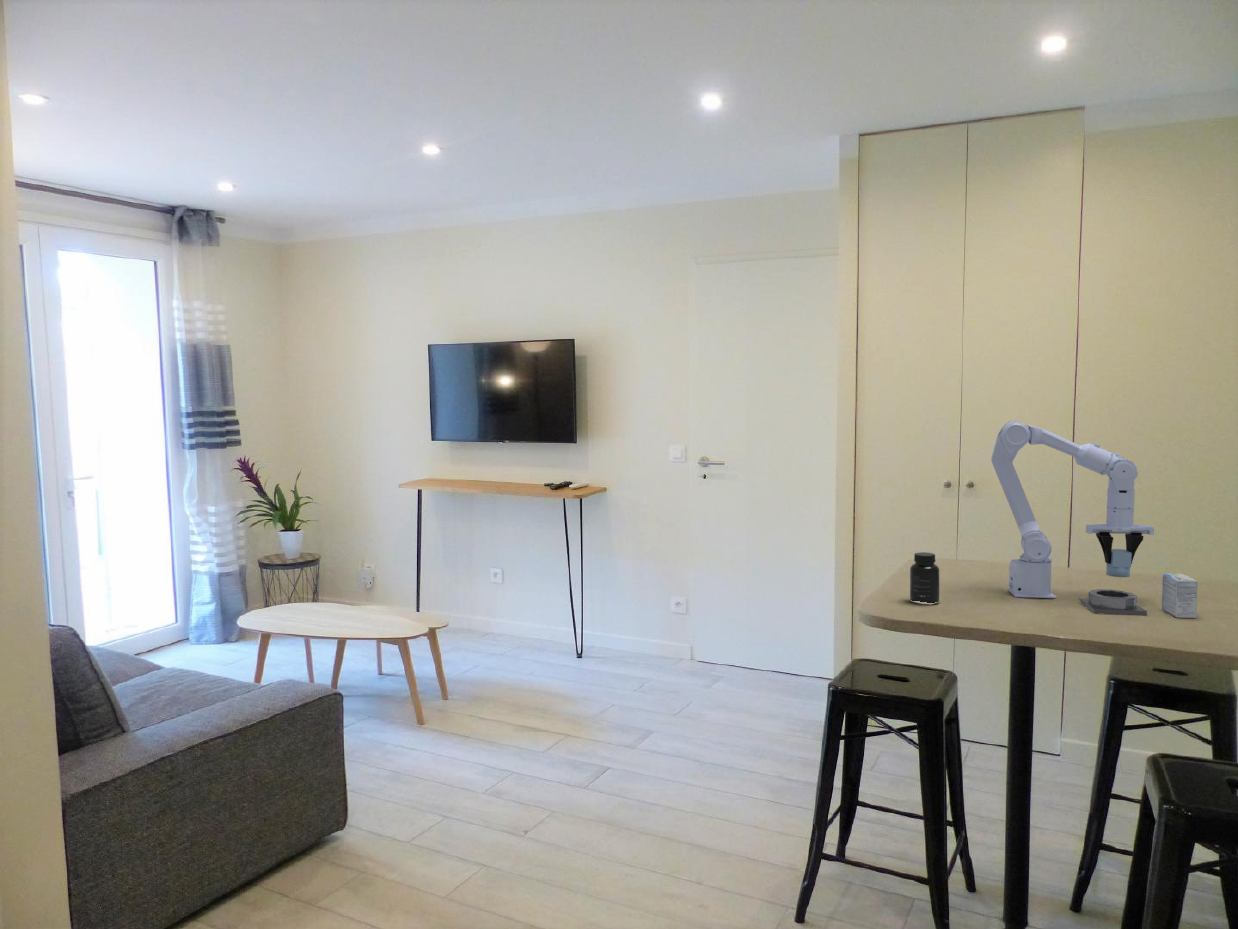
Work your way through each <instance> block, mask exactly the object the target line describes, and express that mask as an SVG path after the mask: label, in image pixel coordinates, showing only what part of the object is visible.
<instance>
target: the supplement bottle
mask: <svg viewBox="0 0 1238 929" xmlns="http://www.w3.org/2000/svg"><path fill="white" fill-rule="evenodd" d="M913 558H914V559H913V562H914V563H913V564H911V566H910V569H909V599H910V601H911V600H912V601H920V602H927V603H935V602H938V603H940V567H939V565H936V564H935V563H936V554H935V553H932V552H926V551H925V552H915V553H914V556H913Z"/></svg>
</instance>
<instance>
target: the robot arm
mask: <svg viewBox="0 0 1238 929" xmlns="http://www.w3.org/2000/svg"><path fill="white" fill-rule="evenodd" d="M1027 444H1029V445H1044V446H1047V447H1049V448H1052V449H1054V450H1056V451H1059V452H1061V453H1064V454H1066V455H1069V456H1072V457H1073V458H1074V460H1075V462H1076V464H1077V465H1078V466H1080V467H1082V468H1085V469H1088V470H1090V471H1092V472H1094V473H1097V474H1099V475H1101V476H1105V475H1106V476H1107V477H1108V487H1107V492H1106V493H1107V494H1106V498H1107V499H1106V519H1105V520H1106V522H1105V523H1104V524H1103V523H1102V524H1101V523H1100V524H1097V523H1096V524H1085V533H1086V534H1095V535H1096V538H1097V540H1098V542H1099V544H1100V547H1101V550H1102V553H1103V556H1104V563H1105V564H1107V563H1108V564H1111V550H1112V549H1113V548H1112V547H1113V541H1114V537H1113V536H1112V535H1113V534H1116V535H1117V534H1118V535H1120V534H1121V535H1122V534H1123V535H1124V537H1125V538H1124V539H1125V550H1127V551H1129V552H1131V553H1132V557H1131V565H1132V564H1133V561H1134V557H1135V556H1136V555H1135V554H1136V552H1137V550H1138V548H1139V546H1140V545H1141V543H1142V542H1143V541H1144V535H1149V536H1151V535H1152V536H1154V535H1155V526H1152V525H1144V524H1143V525H1141V524H1140V525H1139V524H1134V516H1135V514H1134V513H1135V493H1136V492H1135V491H1136V490H1135V480H1136V479H1137V478H1138V475H1139V471H1138V469H1137V466H1136V465H1135V463H1134V462H1132V461H1131V460H1129V459H1128V458H1127V459H1126V458H1125V457H1124V456H1120V454H1121V453H1118V452H1114V453H1113V452H1110V451H1108V450H1106V449H1103V448H1102V447H1101V445H1100V444H1098V443H1095V442H1093V444H1091V443H1089V442H1088V443H1085V444H1081V445H1080V444H1077V443H1075V442H1073V441H1072V440H1068V439H1067V438H1064V437H1062V436H1060V435H1058V434H1055V433H1053V432H1051V431H1049V430H1047V429H1044V428H1042V427H1038V426H1036V425H1035V426H1034V425H1031V424H1024V423H1023V422H1021V421H1018V420H1012V421H1008V422H1006V423H1005V424H1004V425H1003V426H1002V427H1001V429H1000V431H999V432H998V433H997V435H996V439H995V444H994V447H993V451H992V455H991V459H990V460H991V464H992V466H993V469H994V471H995V474H996V476H997V478H998V480H999V483H1000V485H1001V488H1002V491H1003V493H1004V496H1005V499H1006V500H1007V503H1008V505H1009V507H1010V510H1011V513H1012V514H1013V517H1014V520H1015V522H1016V524H1017V525H1016V526H1017V527H1018V530H1019V532H1020V536H1021V540H1020V544H1021V547H1022V549H1023V552H1022V554H1021V555H1020V556H1019V559H1011V560H1010V561H1009V564H1008V565H1009V567H1008V569H1009V570H1008V588H1007V590H1008V591H1009V593H1011V595H1013V596H1014V597H1016V598H1033V599H1035V598H1036V599H1037V598H1039V599H1057V596H1056V595H1055V594H1053V593H1052V590H1051V589H1052V565H1053V564H1052V562H1053V561H1052V560H1053V559H1052V558H1051V557H1050V555H1051V553H1052V548H1053V547H1052V545H1051V543H1050V541H1049V540H1048V537H1047V536H1046V535H1045V534H1044V533H1043V532H1042V531H1041V528H1040V527H1039V523H1038V522H1037V520H1036V517H1035V514H1034V513H1033V512H1034V511H1033V510H1032V508H1031V505H1030V502H1029V500H1028V498H1027V495H1026V493H1025V490H1024V488H1023V486H1022V483H1021V480H1020V479H1019V476H1018V473H1017V471H1016V469H1015V467H1014V464H1013V462H1014V460H1015V459H1016V457H1017V454H1019V453H1018V452H1019V451H1020V450H1022V448H1024V446H1026V445H1027ZM1111 534H1112V535H1111Z"/></svg>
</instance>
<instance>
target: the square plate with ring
mask: <svg viewBox="0 0 1238 929" xmlns="http://www.w3.org/2000/svg"><path fill="white" fill-rule="evenodd" d="M1078 600H1079V601H1080V602H1081V603H1082V604H1083V605H1082V604H1081V603H1080V602H1079V603H1080V604H1081V605H1082V606H1084V607H1085V608H1086V607H1087V608H1086V609H1088V610H1089V611H1090V612H1091V613H1093V614H1094V613H1099V614H1100V613H1104V614H1103V615H1122V614H1126V615H1125V616H1147V615H1148V610H1146V609H1145V608H1143V607H1141V606H1140V605H1138V604H1137V602H1138V601H1137V600H1138V595H1136V594H1135V593H1133V592H1129V591H1125V590H1118V589H1109V588H1108V589H1106V588H1105V589H1103V588H1101V589H1092V590H1089V591H1088V597H1087V598H1086V597H1085V598H1084V597H1079V599H1078ZM1100 615H1101V614H1100Z"/></svg>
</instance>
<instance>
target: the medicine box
mask: <svg viewBox="0 0 1238 929" xmlns="http://www.w3.org/2000/svg"><path fill="white" fill-rule="evenodd" d="M1198 585H1199V583H1198V580H1197V579H1194V578H1192V577H1190V576H1189V575H1186V574H1183V573H1163V574H1162V591H1161V592H1162V593H1161V610H1163V611H1164V612H1167V613H1168V614H1170V615H1171V616H1173V617H1175V618H1176V619H1177V618H1179V619H1197V618H1198V592H1199V591H1198V588H1199V586H1198Z"/></svg>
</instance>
